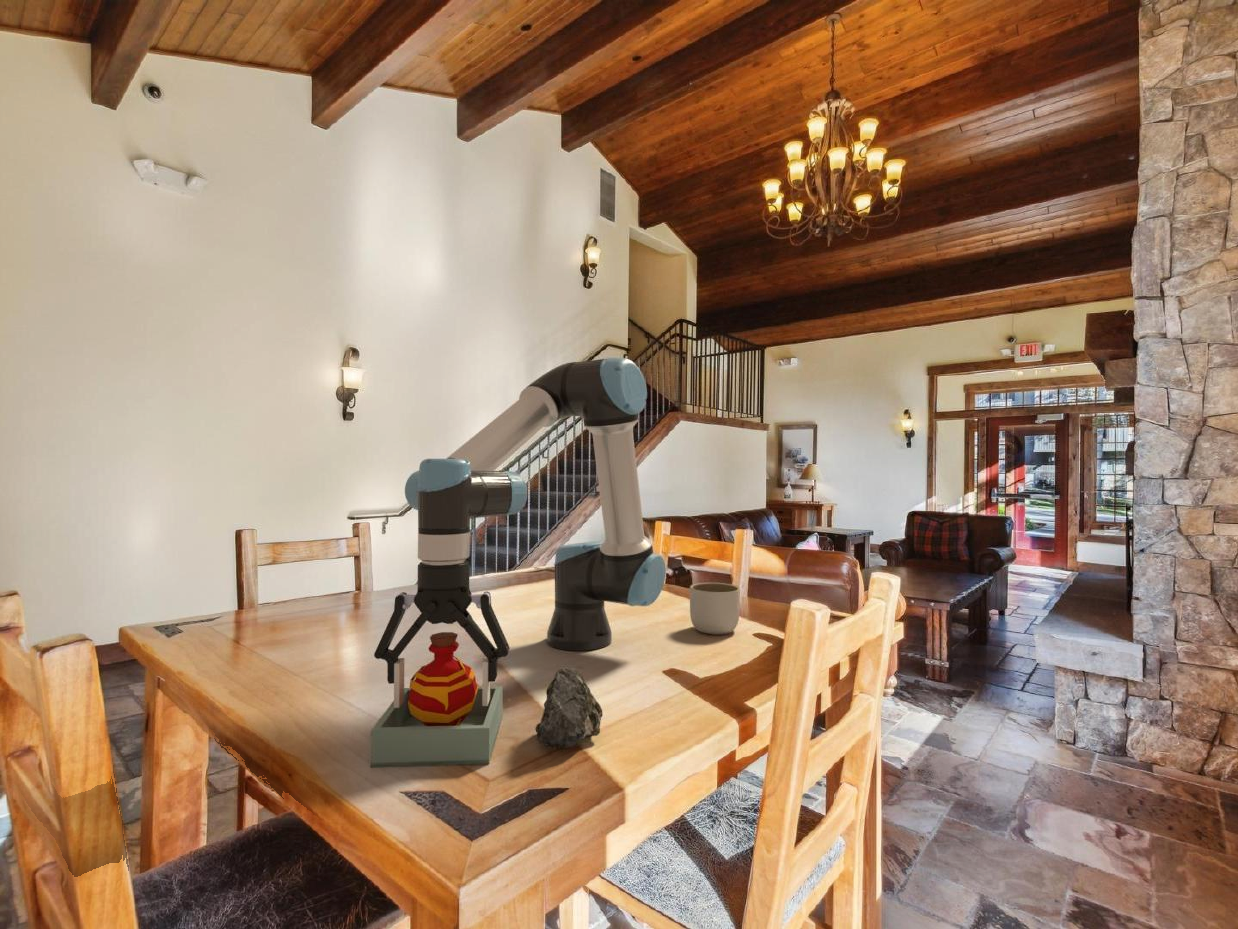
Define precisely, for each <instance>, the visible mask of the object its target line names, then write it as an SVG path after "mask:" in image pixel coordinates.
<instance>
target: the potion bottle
mask: <svg viewBox="0 0 1238 929" xmlns="http://www.w3.org/2000/svg"><path fill="white" fill-rule="evenodd" d="M457 638H458V633H455V632H453V631H451V632H450V631H449V632H448V631H446V632H445V631H444V632H443V631H442V632H437V633H434V634H431V635H430V637H429V640H430V642H431V644H430V645H429V647H428V650H429V652H430V653H433V660H432V661H431V662H428V664H425V665H422V666H420V668H419V669H418V670H417V671H416V672H415V673H414V674H413V676H412V677H411V678H410V680H409V687H408V688H411V690H410V695H409V701H408V705H409V709H410V713H411V715H413V716H414V717H416V718H417V719H418V720H419V721H420V722H422V723H423V724H424V725H425V726H460V725H461V724H460V723H461V722H462V721H463V720H464V719H465V718H466V716H467V715H468V713H469V712H470V711H471V710H472V707H473V704H474V701H475V697H476V694H477V691H478V687H480V686H479V684H478V683H477V681H476V673H475V672H474V669H473V668H472V667H471V666H469V665H467V664H465V663H464V662H463V661H462V660H461V659H460V658H458V657H456V656H455V655H454V653H455V652H456V651H457V650H458V648H459V646H460V644H459V642H458V641H457Z"/></svg>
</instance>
